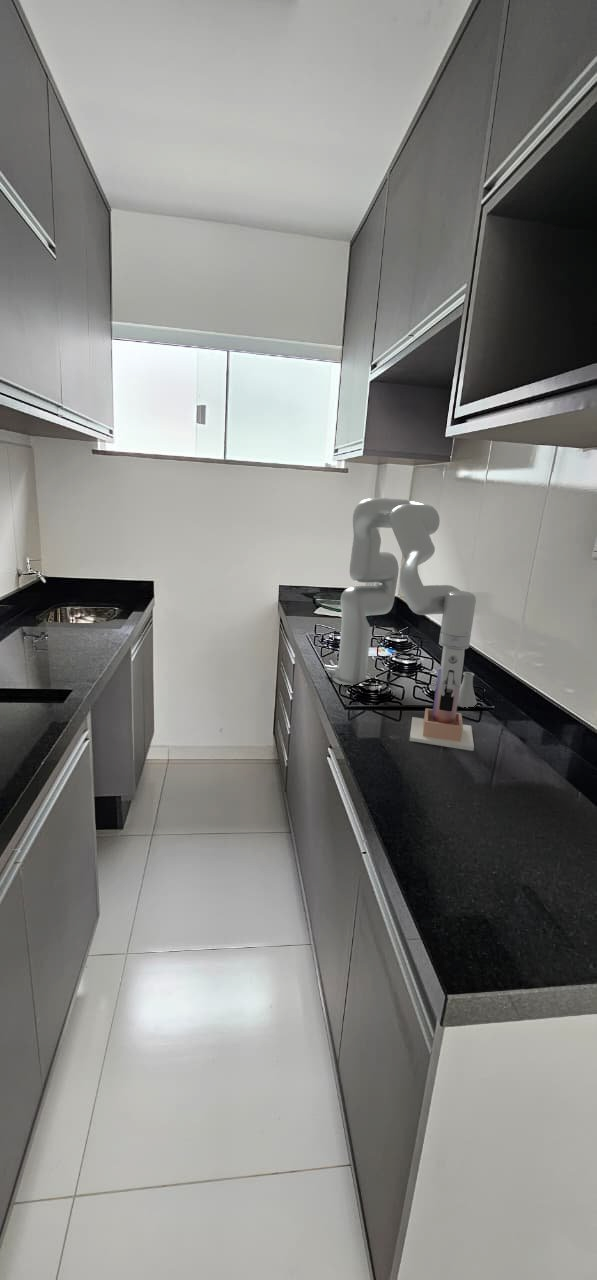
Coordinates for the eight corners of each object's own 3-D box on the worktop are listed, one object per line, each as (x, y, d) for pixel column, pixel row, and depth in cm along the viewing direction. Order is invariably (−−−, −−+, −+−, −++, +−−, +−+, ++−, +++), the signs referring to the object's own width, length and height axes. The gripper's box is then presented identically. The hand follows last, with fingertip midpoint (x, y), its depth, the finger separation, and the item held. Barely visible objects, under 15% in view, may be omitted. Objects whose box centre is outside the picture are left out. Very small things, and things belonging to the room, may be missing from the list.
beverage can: (427, 718, 155) (434, 664, 151) (444, 715, 157) (452, 663, 153) (441, 727, 150) (448, 672, 146) (459, 724, 152) (467, 670, 148)
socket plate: (409, 740, 150) (411, 722, 148) (411, 720, 163) (414, 703, 162) (473, 750, 146) (476, 732, 145) (470, 729, 160) (473, 712, 158)
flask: (461, 698, 183) (465, 668, 180) (481, 705, 177) (486, 675, 175) (447, 702, 178) (451, 671, 175) (467, 710, 173) (472, 679, 170)
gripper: (471, 650, 139) (461, 720, 143) (468, 633, 155) (458, 696, 160) (439, 646, 140) (430, 715, 145) (439, 630, 156) (431, 692, 161)
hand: (445, 705), depth 152 cm, fingers closed on beverage can, 6 cm apart
